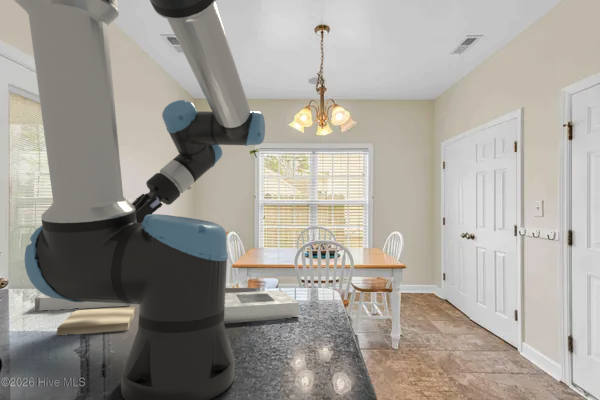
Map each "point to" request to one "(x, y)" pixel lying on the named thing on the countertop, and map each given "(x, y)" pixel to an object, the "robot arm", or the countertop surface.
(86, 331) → the maple pad
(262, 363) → the countertop surface
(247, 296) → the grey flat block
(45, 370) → the countertop surface
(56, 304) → the parts tray frame
